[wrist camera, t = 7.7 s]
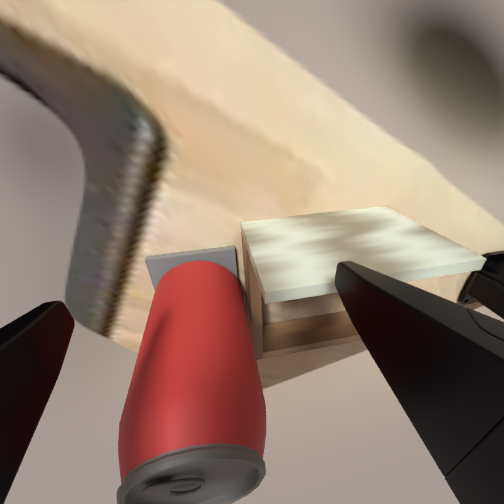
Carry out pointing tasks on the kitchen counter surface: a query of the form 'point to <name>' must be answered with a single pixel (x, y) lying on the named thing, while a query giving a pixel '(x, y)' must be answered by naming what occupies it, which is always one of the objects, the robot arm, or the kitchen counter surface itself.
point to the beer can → (193, 396)
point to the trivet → (167, 261)
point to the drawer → (334, 267)
